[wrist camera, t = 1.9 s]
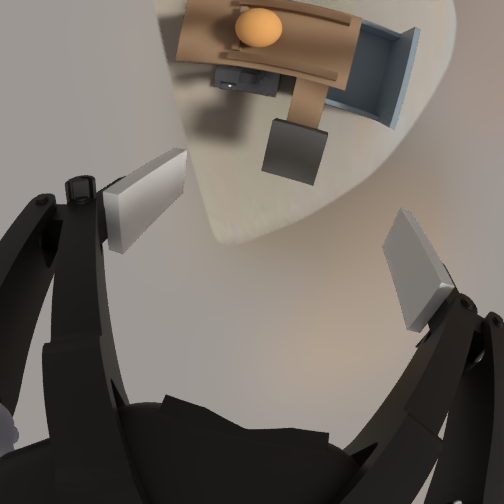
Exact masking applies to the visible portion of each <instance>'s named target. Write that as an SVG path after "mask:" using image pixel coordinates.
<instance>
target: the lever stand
mask: <svg viewBox="0 0 504 504" xmlns="http://www.w3.org/2000/svg"><path fill="white" fill-rule="evenodd" d="M289 1H291V0H289ZM295 2H296V1H295ZM280 77H281V74H279V73H274V72H269V71H264V70H258V69H252V68H246V67H239V66H236V67H231V66H222V65H218V68H217V69H216V71H215V77H214V80H215V85H214V87H219V88H220V89H227V90H239V91H245V92H251V93H256V94H261V95H266V96H271V97H276V95H277V91H278V86H279V82H280Z"/></svg>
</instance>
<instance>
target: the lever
mask: <svg viewBox="0 0 504 504" xmlns="http://www.w3.org/2000/svg"><path fill="white" fill-rule="evenodd" d="M254 8H263V9H267V10H270V11H272V12H273V13H275V14H276V15H277V16H278V17H279V19H280V21H281V23H282V33H281V35H280V37H279V39H278V40H277V41H276V42H274V43H273V44H271V45H269V46H266V47H252V46H249V45H247V44H245V43H243V42H242V41H241V40H240V39H239V38H238V36H237V34H236V30H235V25H236V21H237V19H238V18H239V16H240V15H241V14H242V13H244V12H245V11H247V10H250V9H254ZM361 23H362V18H360V17H357V16H353V15H350V14H347V13H343V12H340V11H336V10H332V9H328V8H324V7H320V6H315V5H311V4H306V3H300V2H295V1H289V0H188V2H187V6H186V10H185V14H184V19H183V23H182V28H181V33H180V38H179V43H178V48H177V54H176V59H175V61H183V62H192V63H201V64H213V65H222V66H231V67H236V66H239V67H246V68H252V69H258V70H264V71H269V72H274V73H279V74H284V75H288V76H293V77H297V79H296V84H295V88H294V92H293V96H292V100H291V105H290V109H289V113H288V117H287V121H286V120H282V119H278V118H276V119H274V120H273V121H272V126H271V130H270V134H269V139H268V143H267V148H266V152H265V157H264V161H263V166H262V170H261V171H264V172H268V173H271V174H275V175H279V176H282V177H286V178H289V179H293V180H296V181H299V182H303V183H306V184H309V185H312V186H313V185H314V181H315V178H316V175H317V172H318V168H319V165H320V162H321V158H322V155H323V151H324V148H325V145H326V141H327V138H328V132H325V131H322V130H318V126H319V122H320V118H321V115H322V111H323V107H324V103H325V99H326V96H327V92H328V88H329V86H331V87H334V88H337V89H340V90H343V91H345V88H346V84H347V81H348V77H349V73H350V69H351V65H352V61H353V57H354V53H355V49H356V44H357V40H358V36H359V31H360V27H361Z"/></svg>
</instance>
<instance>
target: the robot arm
mask: <svg viewBox="0 0 504 504" xmlns="http://www.w3.org/2000/svg"><path fill="white" fill-rule="evenodd" d="M186 156H187V150H186V149H179V148H174V149H172V150H170V151H168V152H167V153H165V154H163V155H161V156H159V157H158V158H156V159H154V160H152V161H150V162H149V163H147V164H145V165H144V166H142V167H140V168H139V169H137V170H136V171H134V172H132V173H131V174H129V175H127V176H124V177H121V178H118V179H117V180H115V181H114V182H112V183H111V184H109V185H107V187H104V188H103V189H101V190H100V191H98V192H97V193H96V184H95V178H94V177H93V176H88V175H84V176H77V177H74V178H72V179H69V180H68V181H67V182H66V183H65V190H66V197H67V204H66V205H65V204H56V199H55V195H53V194H41V195H38V196H37V197H35V198H33V199H32V200H31V201H30V202H29V203H28V205H27V206H26V207H25V208H24V209H23V211H22V212H21V213H20V215H19V216H18V217H17V218H16V220H15V221H14V222H13V224H12V225H11V227H10V228H9V229H8V230H7V232H6V233H5V235H4V236H3V238H2V239H1V241H0V504H411V503H412V502H413V500H414V499H415V497H416V496H417V494H418V493H419V491H420V489H421V488H422V486H423V484H424V483H425V480H426V479H427V477H428V476H429V474H430V472H431V470H432V468H433V467H434V465H435V463H436V461H437V459H438V461H437V464H436V467H435V471H434V474H433V477H432V480H431V483H430V486H429V489H428V492H427V495H426V498H425V501H424V504H504V322H503V319H502V318H501V317H500V316H499V315H497V314H496V313H494V312H489V313H488V315H487V316H486V317H485V318H482V317H481V316H479V315H477V307H476V305H475V304H474V302H473V301H472V300H471V299H470V298H469V297H468V296H466V295H464V294H462V293H459V292H458V290H457V288H456V286H455V284H454V282H453V280H452V278H451V276H450V274H449V272H448V270H447V269H446V267H445V265H444V264H443V263H442V262H441V260H440V258H439V256H438V255H437V253H436V251H435V249H434V248H433V246H432V244H431V243H430V241H429V240H428V238H427V236H426V234H425V233H424V231H423V230H422V228H421V227H420V225H419V223H418V222H417V220H416V219H415V217H414V216H413V215H412V213H411V212H410V211H407V210H405V209H402V208H400V210H399V212H398V214H397V216H396V218H395V221H394V223H393V225H392V227H391V229H390V231H389V234H388V236H387V238H386V240H385V242H384V244H383V246H382V248H383V251H384V254H385V257H386V260H387V263H388V265H389V269H390V272H391V275H392V278H393V281H394V284H395V288H396V291H397V295H398V298H399V301H400V305H401V309H402V313H403V316H404V320H405V324H406V328H407V330H410V331H415V332H419V333H420V332H421V331H422V329H423V328H424V327H425V326H426V325H427V323H428V325H429V328H430V330H429V331H428V333H427V334H426V335H425V336H424V338H422V340H421V341H420V342H419V343H418V344H417V346H416V347H418V349H417V351H416V352H415V354H414V356H413V358H412V359H411V361H410V363H409V365H408V366H407V368H406V369H405V371H404V372H403V374H402V376H401V377H400V379H399V380H398V382H397V383H396V385H395V386H394V388H393V389H392V391H391V392H390V394H389V395H388V397H387V398H386V399H385V401H384V402H383V403H382V405H381V406H380V408H379V409H378V410H377V412H376V413H375V414H374V416H373V417H372V418H371V419H370V421H369V422H368V423H367V424H366V426H365V427H364V428H363V429H362V431H361V432H360V433H359V434H358V436H357V437H356V438H355V439H354V440H353V441H352V442H351V443H350V444H349V445H348V446H347V447H346V448H344V449H343V450H341V449H340V448H338V447H336V446H334V445H333V444H330V443H328V440H329V433H325V432H316V431H308V430H302V429H296V428H281V429H245V428H242V427H240V426H238V425H236V424H234V423H233V422H231V421H229V420H227V419H225V418H223V417H221V416H219V415H217V414H216V413H214V412H212V411H210V410H209V409H207V408H205V407H201V406H198V405H195V404H192V403H189V402H186V401H183V400H180V399H177V398H174V397H171V396H169V395H165V398H164V400H163V402H162V403H156V402H143V403H135V404H129V401H128V398H127V395H126V393H125V389H124V386H123V382H122V378H121V374H120V369H119V365H118V360H117V355H116V350H115V345H114V340H113V334H112V328H111V321H110V315H109V307H108V299H107V291H106V281H105V270H104V256H103V246H102V243H103V242H104V241H105V240H106V239H107V238H108V245H109V250H112V251H115V252H118V253H121V254H124V253H125V252H126V251H127V249H128V248H129V247H130V246H131V245H132V244H133V243H134V242H135V241H136V240H137V239H138V238H139V237H140V236H141V235H142V233H143V232H144V231H145V230H146V229H147V228H148V227H149V226H150V225H151V224H152V223H153V222H154V221H155V220H156V219H157V218H158V217H159V216H160V215H161V214H162V213H163V212H164V211H165V210H166V209H167V208H168V207H169V206H170V205H171V204H172V203H173V202H174V201H175V200H176V199H177V198H178V197H179V196H181V194H183V188H184V177H185V166H186ZM54 273H55V274H54ZM53 275H54V285H53V296H52V313H51V342H50V343H45V344H44V346H43V350H42V371H43V387H44V388H43V389H44V400H45V409H46V417H47V424H48V430H49V436H50V438H47V439H45V440H42V441H39V442H37V443H34V444H31V445H28V446H26V447H23V448H20V449H17V450H14V447H13V443H15V442H17V441H18V438H19V432H18V430H17V428H16V427H15V426H14V421H13V418H12V417H13V415H14V412H15V408H16V405H17V402H18V397H19V393H20V388H21V384H22V378H23V373H24V369H25V364H26V360H27V356H28V351H29V348H30V344H31V340H32V336H33V333H34V329H35V326H36V323H37V320H38V317H39V313H40V311H41V308H42V305H43V302H44V299H45V296H46V293H47V291H48V288H49V286H50V283H51V280H52V278H53ZM481 358H482V359H481ZM480 359H481V360H480ZM479 360H480V361H479ZM448 411H449V412H448ZM447 413H448V418H447V423H446V428H445V433H444V437H443V440H442V439H441V438H439V437H438V433H439V431H440V429H441V427H442V425H443V422H444V420H445V418H446V416H447Z"/></svg>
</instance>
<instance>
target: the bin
mask: <svg viewBox="0 0 504 504" xmlns="http://www.w3.org/2000/svg"><path fill="white" fill-rule="evenodd" d="M419 35H420V29H419V28H417V27H414V28H412V29H410V30H408V31H406V32H404V33H402V34H399V33H397V32H395V31H392V30H390V29H388V28H385V27H383V26H380V25H377V24H375V23H372V22H369V21H367V20H364V19H362V23H361V27H360V31H359V36H358V40H357V44H356V49H355V53H354V57H353V61H352V65H351V69H350V73H349V77H348V81H347V84H346V88H345V91H343V90H340V89H337V88H334V87H331V86H329V88H328V92H327V96H326V99H325V103H326V104H329V105H332V106H336V107H339V108H342V109H345V110H348V111H351V112H354V113H357V114H359V115H362V116H365V117H368V118H370V119H373V120H376V121H378V122H380V123H382V124H384V125H386V126H387V127H389V128H392V129H394V130H395V127H396V124H397V121H398V118H399V114H400V111H401V108H402V104H403V101H404V97H405V94H406V90H407V86H408V82H409V79H410V75H411V71H412V67H413V62H414V58H415V54H416V49H417V44H418V40H419Z"/></svg>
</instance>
